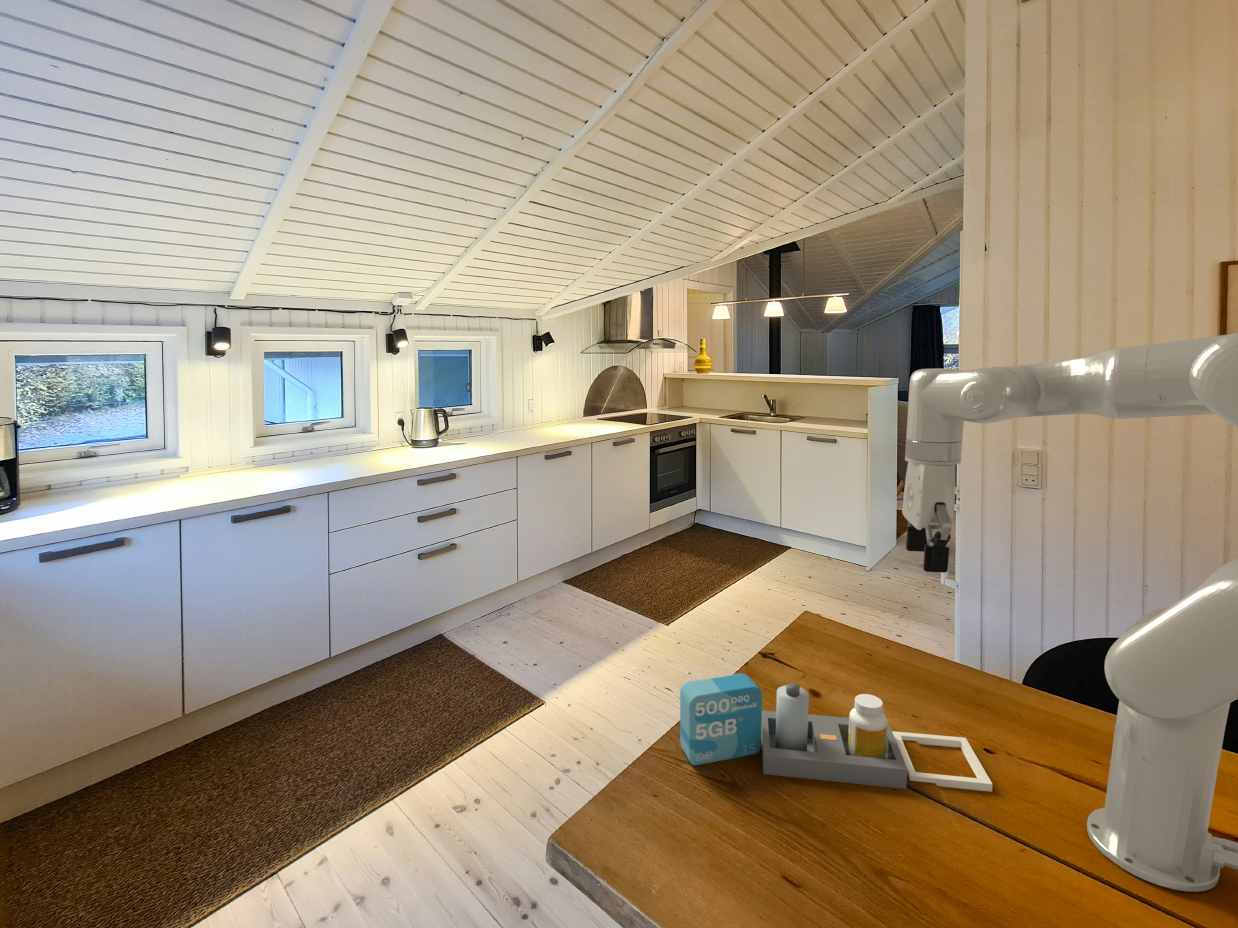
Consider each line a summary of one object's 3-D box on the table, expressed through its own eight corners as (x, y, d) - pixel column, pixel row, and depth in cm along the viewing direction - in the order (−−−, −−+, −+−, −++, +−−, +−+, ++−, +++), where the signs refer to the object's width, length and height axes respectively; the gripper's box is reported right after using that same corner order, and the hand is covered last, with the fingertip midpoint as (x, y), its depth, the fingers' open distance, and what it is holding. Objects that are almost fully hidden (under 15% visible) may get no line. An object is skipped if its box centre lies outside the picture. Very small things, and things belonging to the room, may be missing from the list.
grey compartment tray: (886, 740, 101) (887, 720, 100) (905, 791, 89) (907, 768, 88) (760, 729, 104) (761, 709, 104) (763, 776, 93) (763, 754, 92)
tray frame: (964, 744, 99) (965, 737, 99) (991, 791, 89) (992, 784, 88) (891, 737, 101) (892, 731, 101) (909, 783, 91) (910, 775, 90)
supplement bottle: (893, 764, 94) (896, 706, 92) (863, 773, 92) (866, 713, 91) (868, 744, 99) (871, 688, 97) (840, 751, 97) (842, 694, 96)
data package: (689, 769, 95) (689, 697, 93) (679, 751, 99) (679, 682, 97) (761, 755, 98) (762, 685, 96) (748, 738, 102) (750, 671, 100)
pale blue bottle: (805, 743, 99) (807, 679, 97) (808, 762, 95) (810, 695, 93) (774, 740, 100) (776, 676, 98) (776, 759, 96) (777, 693, 94)
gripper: (892, 443, 102) (886, 543, 105) (922, 461, 85) (914, 579, 88) (941, 443, 100) (934, 544, 103) (982, 461, 84) (972, 581, 87)
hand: (925, 560), depth 96 cm, fingers open, 9 cm apart
